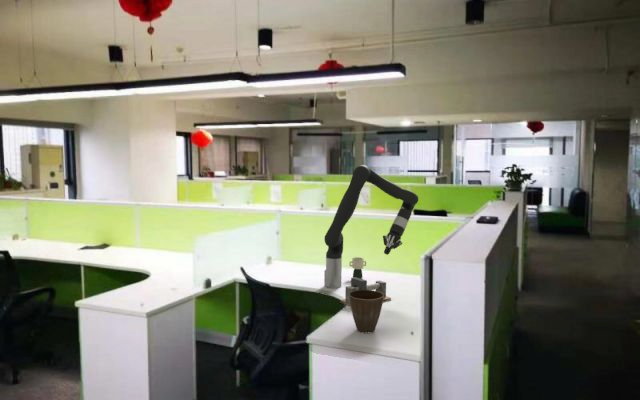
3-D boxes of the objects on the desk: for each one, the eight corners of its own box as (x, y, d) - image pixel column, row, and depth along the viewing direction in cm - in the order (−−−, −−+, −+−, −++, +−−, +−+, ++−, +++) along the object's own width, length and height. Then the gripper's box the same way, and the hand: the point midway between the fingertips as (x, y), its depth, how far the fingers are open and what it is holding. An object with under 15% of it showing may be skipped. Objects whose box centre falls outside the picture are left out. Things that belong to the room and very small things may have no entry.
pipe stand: (375, 295, 265) (376, 279, 264) (391, 300, 255) (391, 283, 255) (340, 302, 250) (340, 285, 250) (355, 307, 241) (355, 290, 240)
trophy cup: (364, 277, 307) (364, 257, 306) (367, 279, 300) (367, 259, 299) (348, 277, 305) (348, 257, 304) (350, 280, 298) (350, 259, 297)
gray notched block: (355, 293, 254) (355, 277, 253) (366, 297, 247) (366, 280, 246) (350, 294, 252) (351, 277, 252) (362, 298, 245) (362, 281, 244)
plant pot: (380, 338, 199) (380, 300, 198) (345, 334, 203) (345, 297, 202) (385, 326, 214) (385, 291, 212) (352, 323, 218) (353, 288, 216)
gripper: (386, 220, 268) (373, 248, 265) (405, 226, 258) (391, 255, 256) (393, 225, 273) (380, 253, 270) (411, 231, 264) (398, 259, 261)
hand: (385, 254), depth 263 cm, fingers closed
